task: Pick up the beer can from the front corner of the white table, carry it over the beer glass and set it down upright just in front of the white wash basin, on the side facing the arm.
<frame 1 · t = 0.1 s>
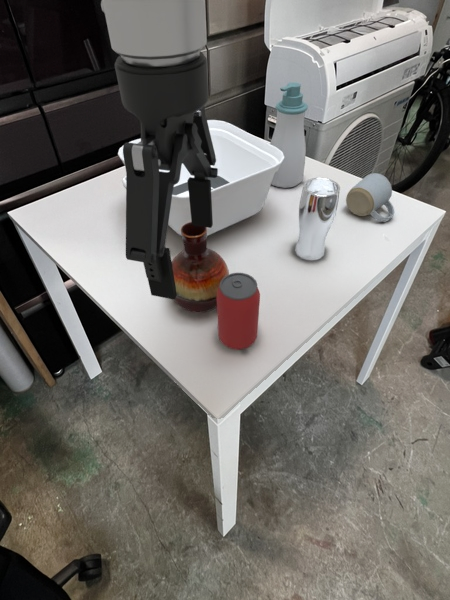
hand: (185, 256, 45), 21 cm above the table, tool pointing down, fingers open, 13 cm apart
beer glass: (309, 252, 78), on the table
vase: (200, 298, 69), on the table
ceramic mug: (369, 212, 88), on the table
white wash basin: (203, 213, 89), on the table
beer can: (237, 336, 63), on the table
soap bottle: (283, 180, 99), on the table
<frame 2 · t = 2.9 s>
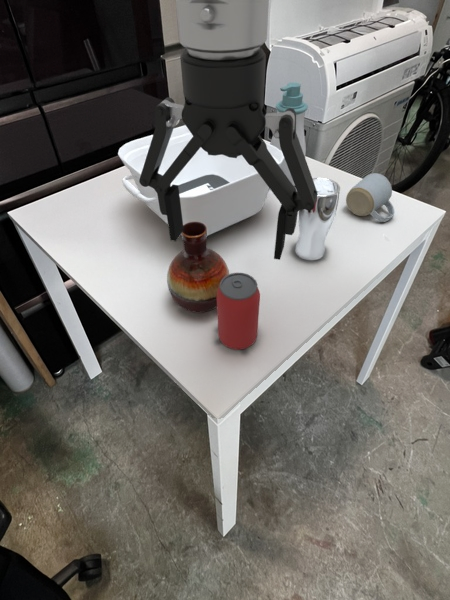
hand: (226, 243, 48), 20 cm above the table, tool pointing down, fingers open, 13 cm apart
nothing on the table moved.
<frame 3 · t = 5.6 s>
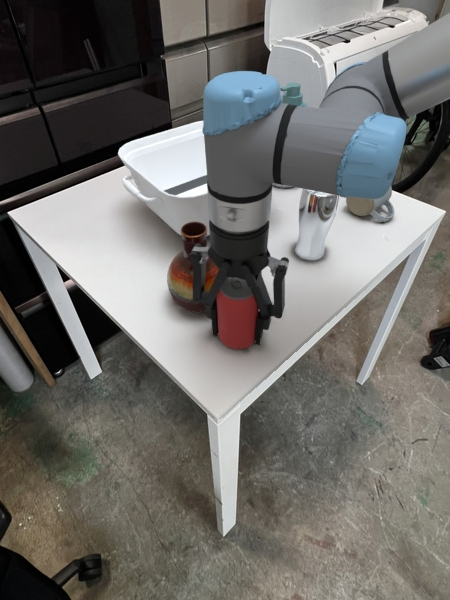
hand: (237, 333, 63), 0 cm above the table, tool pointing down, fingers closed on beer can, 7 cm apart
beer can: (237, 336, 63), on the table, touching gripper
everything else where it was.
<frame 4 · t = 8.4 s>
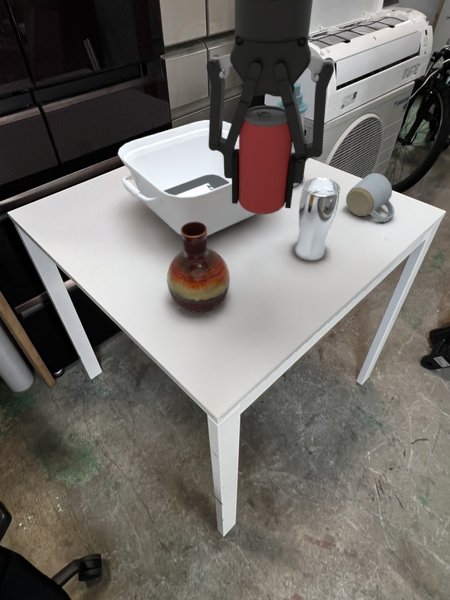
hand: (262, 200, 52), 22 cm above the table, tool pointing down, fingers closed on beer can, 7 cm apart
beer can: (261, 204, 52), point 21 cm above the table, touching gripper
everything else where it was.
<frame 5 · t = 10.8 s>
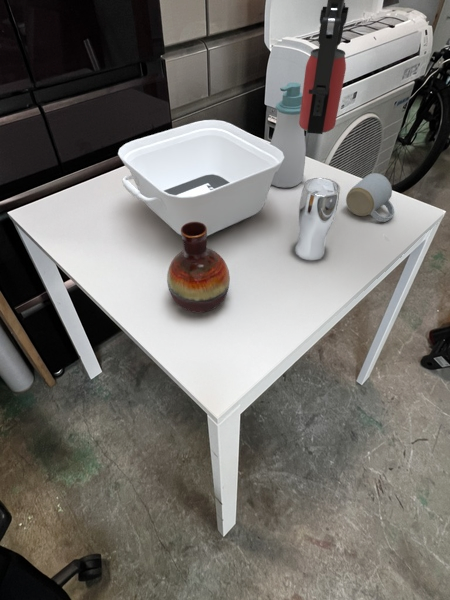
hand: (316, 124, 69), 22 cm above the table, tool pointing down, fingers closed on beer can, 7 cm apart
beer can: (316, 128, 70), point 21 cm above the table, touching gripper
everything else where it was.
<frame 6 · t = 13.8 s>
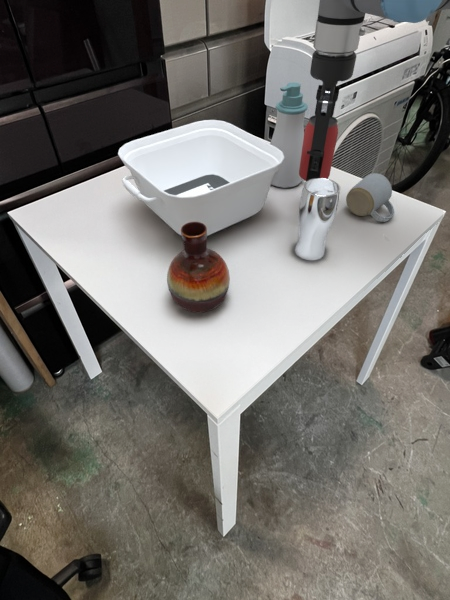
hand: (314, 174, 81), 10 cm above the table, tool pointing down, fingers closed on beer can, 7 cm apart
beer can: (313, 177, 82), point 9 cm above the table, touching gripper
everything else where it was.
when the fingers open (0 cm above the table, at t = 16.2 s): beer can stays where it is, on the table.
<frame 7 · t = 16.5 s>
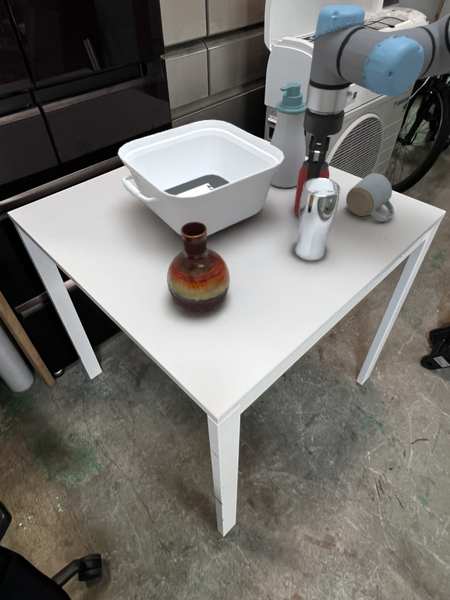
hand: (308, 209, 87), 1 cm above the table, tool pointing down, fingers open, 9 cm apart
beer can: (307, 213, 88), on the table
everything else where it was.
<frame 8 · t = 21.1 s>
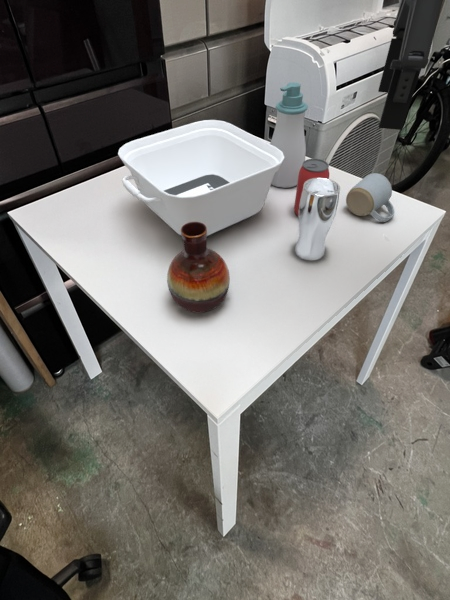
hand: (388, 108, 51), 31 cm above the table, tool pointing down, fingers open, 13 cm apart
nothing on the table moved.
at the end: beer can inside the target area on the table beside the white wash basin (2.5 cm from its centre), on the table; beer can tilted 0°; the gripper is holding nothing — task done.
